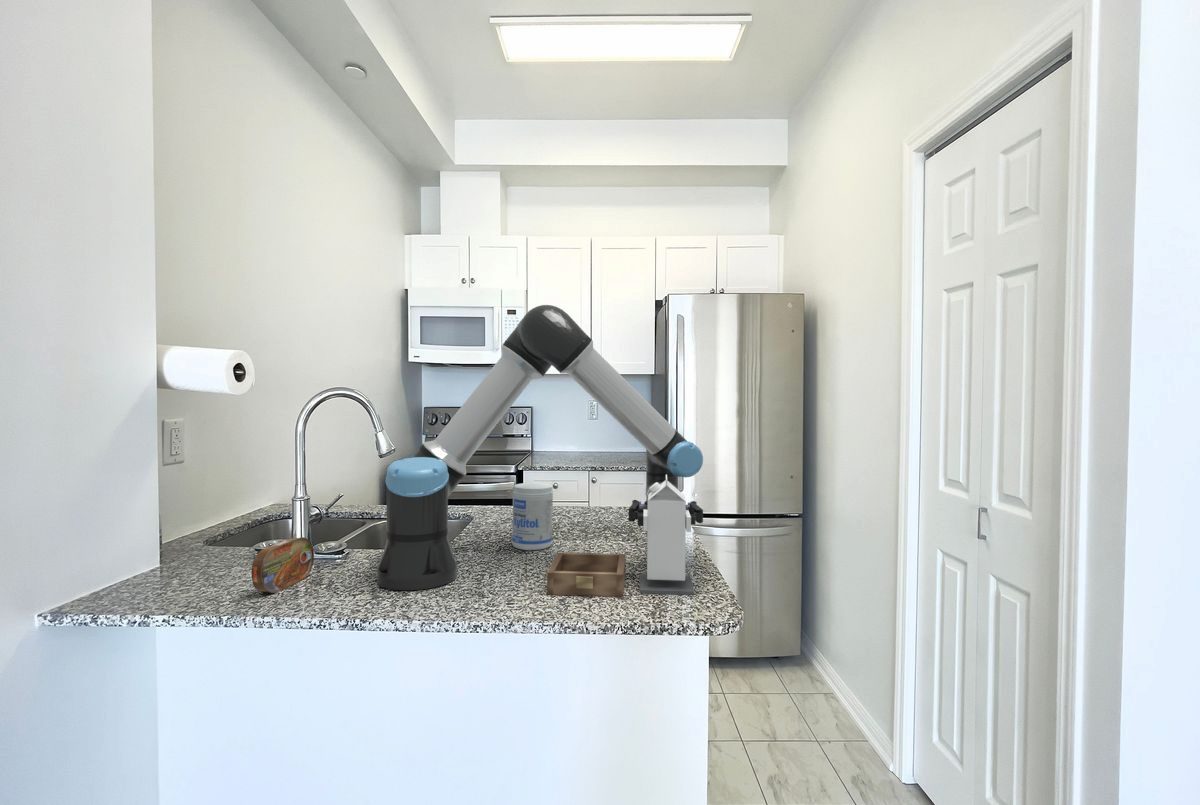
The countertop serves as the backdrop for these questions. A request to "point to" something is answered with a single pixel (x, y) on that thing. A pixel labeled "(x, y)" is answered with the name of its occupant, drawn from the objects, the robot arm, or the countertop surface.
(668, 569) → the milk carton
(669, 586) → the rubber mat
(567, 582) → the wooden square frame
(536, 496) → the supplement tub
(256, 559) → the tin
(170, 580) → the countertop surface
